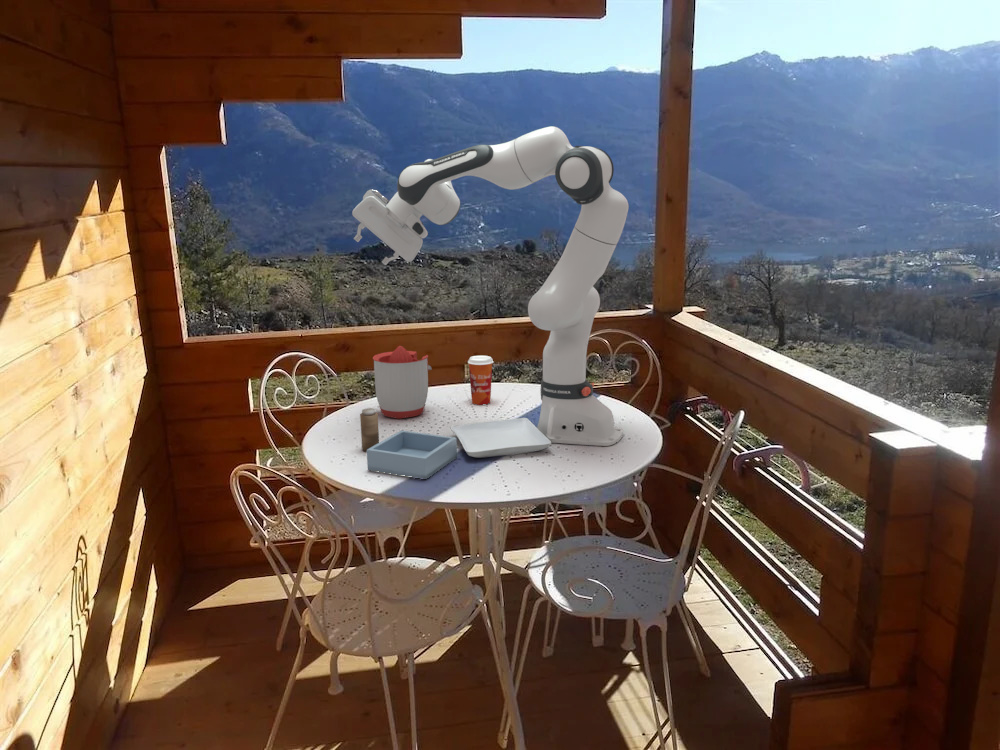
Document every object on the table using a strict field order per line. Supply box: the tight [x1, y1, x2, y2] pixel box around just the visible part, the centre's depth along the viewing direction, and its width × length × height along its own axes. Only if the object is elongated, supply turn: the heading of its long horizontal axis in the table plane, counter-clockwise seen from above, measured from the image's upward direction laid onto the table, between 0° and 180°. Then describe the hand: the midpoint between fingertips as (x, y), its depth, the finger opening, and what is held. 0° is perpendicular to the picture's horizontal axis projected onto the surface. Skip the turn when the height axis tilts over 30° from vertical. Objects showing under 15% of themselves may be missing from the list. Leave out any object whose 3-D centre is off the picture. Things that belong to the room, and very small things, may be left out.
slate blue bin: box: [366, 429, 458, 480], centre depth 157 cm, size 15×15×5 cm
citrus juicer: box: [372, 345, 432, 420], centre depth 195 cm, size 16×17×20 cm
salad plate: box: [449, 417, 552, 458], centre depth 170 cm, size 21×21×3 cm
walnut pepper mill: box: [359, 407, 380, 453], centre depth 166 cm, size 4×4×10 cm
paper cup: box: [467, 355, 495, 406], centre depth 206 cm, size 8×8×14 cm
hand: (369, 252), depth 183 cm, fingers open, 8 cm apart
